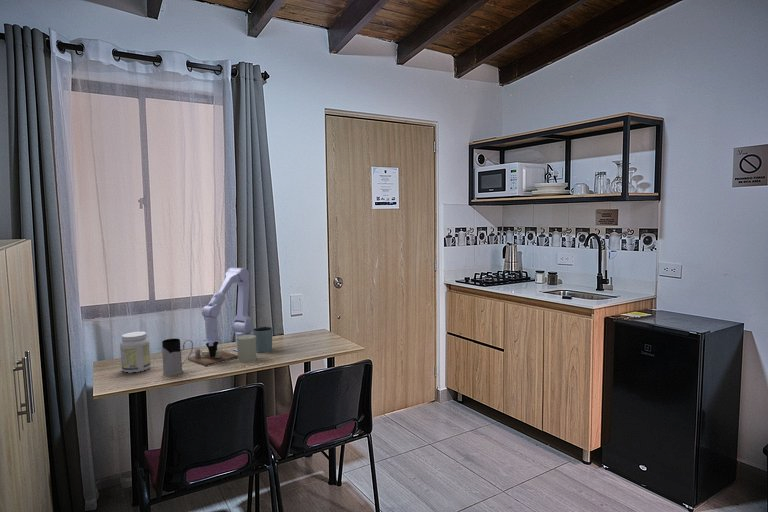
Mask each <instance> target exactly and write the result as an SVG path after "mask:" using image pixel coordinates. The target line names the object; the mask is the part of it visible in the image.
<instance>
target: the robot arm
mask: <svg viewBox="0 0 768 512" xmlns="http://www.w3.org/2000/svg"><path fill="white" fill-rule="evenodd" d="M233 284H236V285H237V288H238V289H237V290H238V291H237V308H236V309H237V310H236V315H235V316H234V317H233V321H232V324H231V330H232V331H233V332H234V334H235V348H233V349H232V351H234V350H235V352H238V349H237V337H238V336H241V335H253V329H254V328H253V327H254V326H253V321H252V320H253V319H252V318H251V317H250V316H249V315H248V314H249V295H250V271H249V270H248V269H247V268H246V267H232V266H231V267H229V268H228V269H227V271H226V272H225V279H224V280H223V283H222V284H221V286H220V288H219V290H218V292H214V294H213V295H212V297H211V299H210V300H209V301H208V304H207V305H205V306H204V307H203V308H202V311H201V315H202V317H203V319H204V327H205V328H204V329H205V331H204V332H205V338H203V340H202V341H203V342H206V343H205V346H206V348H207V349H208V350H207V351H209V354H210V357H215V355H216V348H217V349H218V345H219V340H220V339H219V327H218V326H219V325H218V317H219V316H220V314H221V307H222V305H223V304H224V302H225V300H226V294H227V292H228V291H229V289H230V288H231V287H232V286H233Z"/></svg>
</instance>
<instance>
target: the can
mask: <svg viewBox="0 0 768 512" xmlns="http://www.w3.org/2000/svg"><path fill="white" fill-rule="evenodd" d="M237 349H238V351H237V355H238V358H237V362H238V361H240V362H239V363H250V362H249V361H252V362H255V361H257V360H256V359H258V357H257V353H256V336H255V335H241V336H238V337H237ZM254 360H255V361H254Z"/></svg>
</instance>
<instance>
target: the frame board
mask: <svg viewBox="0 0 768 512" xmlns="http://www.w3.org/2000/svg"><path fill="white" fill-rule="evenodd" d="M216 351H222V357H221V358H202V354H201V349H200V348H196V349H194V352H195V353H194V355H195V356H192V357H190V356H189V358H188V359H187V361H189V362H192V363H195V364H197V365H200V364H201V366H203V365H204V367H208V365H210V366H212V364H213V365H216V364H215V363H217V364H219V363H218V362H221V363H223V362H222V361H224V362H227V361H226V360H228V361H230V360H229V359H232V360H234V359H233V358H236V359H238V354H234V353H231V352H227V351H225V350H222V349H219V350H218V347H217V348H216Z"/></svg>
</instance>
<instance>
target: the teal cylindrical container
mask: <svg viewBox="0 0 768 512" xmlns="http://www.w3.org/2000/svg"><path fill="white" fill-rule="evenodd" d="M252 332H253V335H255V336H256V354H269V353H271V352H273V332H274V329H273V327H271V326H260V327H255V328H252ZM268 352H269V353H268Z"/></svg>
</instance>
